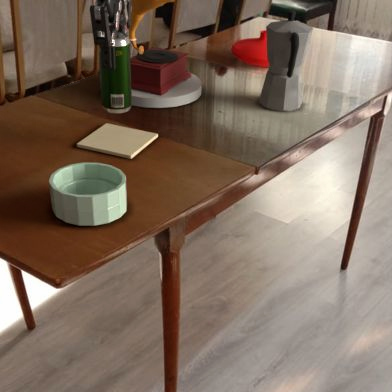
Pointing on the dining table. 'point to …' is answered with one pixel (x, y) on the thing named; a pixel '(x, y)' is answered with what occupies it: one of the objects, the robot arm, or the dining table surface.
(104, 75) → the beer can
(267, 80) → the coffeepot
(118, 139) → the coaster
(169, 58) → the gramophone
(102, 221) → the bowl
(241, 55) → the red disc with nozzle
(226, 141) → the dining table surface
